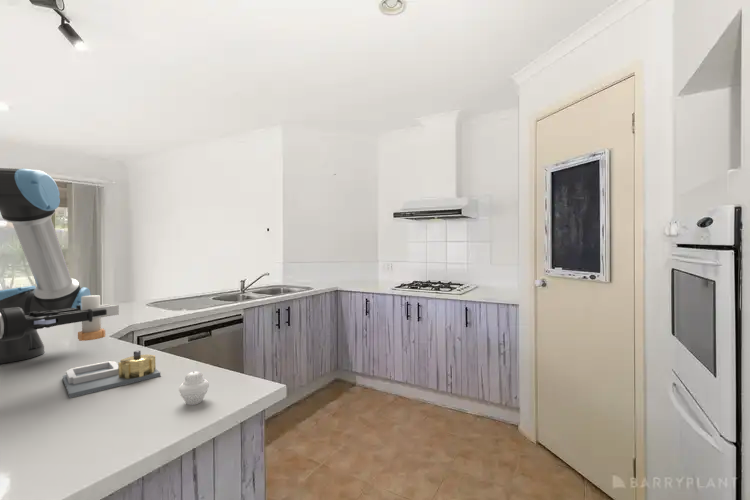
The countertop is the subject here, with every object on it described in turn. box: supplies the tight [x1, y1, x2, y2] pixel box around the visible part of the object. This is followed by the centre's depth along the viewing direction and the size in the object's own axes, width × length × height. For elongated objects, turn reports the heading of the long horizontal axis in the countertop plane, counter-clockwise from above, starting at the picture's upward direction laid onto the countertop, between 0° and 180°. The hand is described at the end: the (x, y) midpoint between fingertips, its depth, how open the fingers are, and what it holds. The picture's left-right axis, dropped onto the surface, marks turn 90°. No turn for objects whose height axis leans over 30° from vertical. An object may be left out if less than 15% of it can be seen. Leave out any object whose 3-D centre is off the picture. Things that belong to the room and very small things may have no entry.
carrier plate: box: [62, 360, 161, 399], centre depth 97 cm, size 18×19×2 cm
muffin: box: [178, 371, 210, 406], centre depth 80 cm, size 6×6×7 cm
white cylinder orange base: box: [77, 294, 106, 342], centre depth 97 cm, size 6×6×12 cm
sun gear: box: [117, 350, 157, 379], centre depth 97 cm, size 8×8×6 cm
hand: (113, 309), depth 101 cm, fingers closed on white cylinder orange base, 4 cm apart
